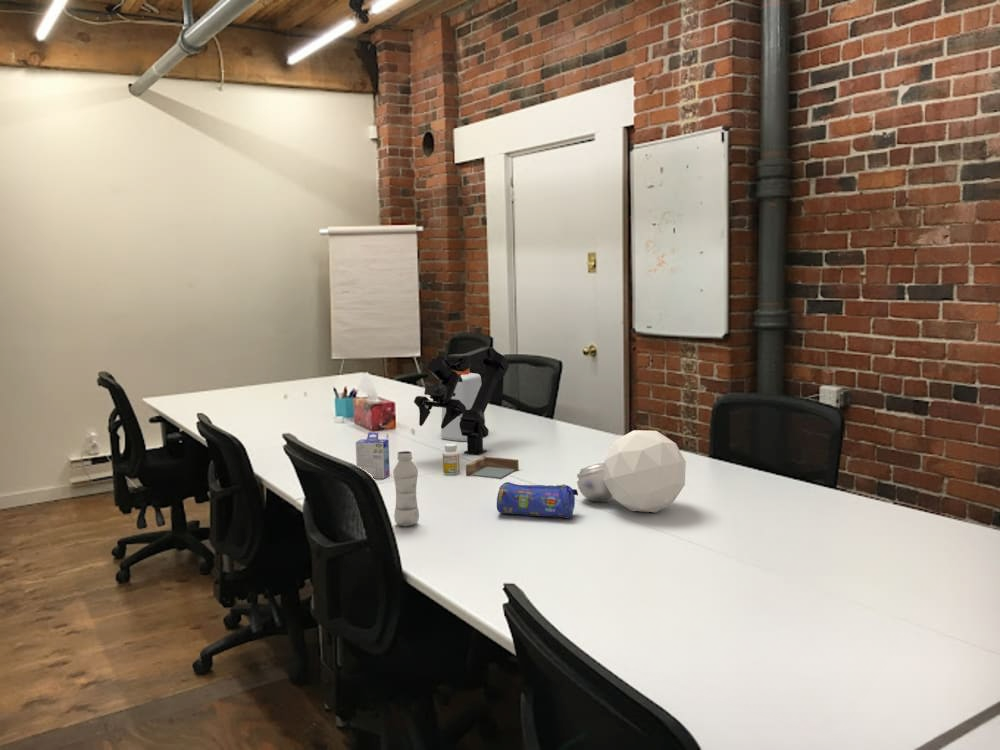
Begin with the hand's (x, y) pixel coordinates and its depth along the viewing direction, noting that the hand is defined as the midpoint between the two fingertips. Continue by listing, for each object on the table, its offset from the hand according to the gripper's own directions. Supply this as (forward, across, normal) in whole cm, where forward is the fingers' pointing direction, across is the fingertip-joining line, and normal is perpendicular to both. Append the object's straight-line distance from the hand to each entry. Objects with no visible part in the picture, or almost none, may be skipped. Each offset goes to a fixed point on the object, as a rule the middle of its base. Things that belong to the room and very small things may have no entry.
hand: (431, 426), depth 288 cm
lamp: (+16, +76, +3) cm, 78 cm away
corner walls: (+9, +22, +12) cm, 27 cm away
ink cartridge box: (+23, -10, -5) cm, 26 cm away
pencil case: (+29, +58, -12) cm, 66 cm away
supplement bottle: (+13, +10, +7) cm, 18 cm away
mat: (+9, +22, +12) cm, 27 cm away
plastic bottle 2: (-16, -19, +44) cm, 50 cm away
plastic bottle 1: (+44, +32, -32) cm, 63 cm away
